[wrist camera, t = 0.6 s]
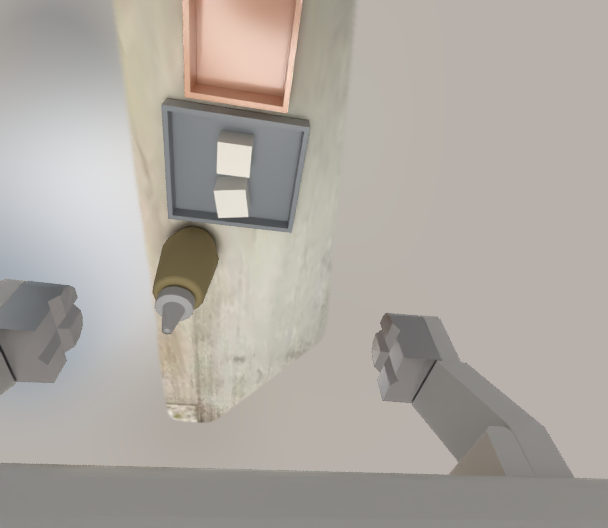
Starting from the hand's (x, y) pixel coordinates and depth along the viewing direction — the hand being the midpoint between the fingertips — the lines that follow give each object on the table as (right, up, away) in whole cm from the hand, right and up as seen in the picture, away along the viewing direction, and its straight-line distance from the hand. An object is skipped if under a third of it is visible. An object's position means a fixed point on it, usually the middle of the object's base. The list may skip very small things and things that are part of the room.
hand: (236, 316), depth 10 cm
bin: (-5, +26, +32) cm, 41 cm away
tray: (-7, +14, +41) cm, 44 cm away
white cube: (-7, +16, +38) cm, 42 cm away
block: (-8, +12, +42) cm, 44 cm away
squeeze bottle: (-15, +5, +48) cm, 50 cm away
